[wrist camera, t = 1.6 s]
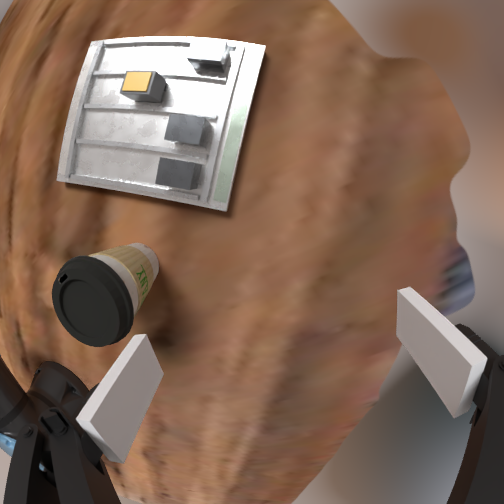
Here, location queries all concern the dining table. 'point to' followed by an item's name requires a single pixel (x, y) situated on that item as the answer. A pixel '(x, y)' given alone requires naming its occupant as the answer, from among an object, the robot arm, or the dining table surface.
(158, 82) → the toggle
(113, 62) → the panel
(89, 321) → the coffee cup
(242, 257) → the dining table surface
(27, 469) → the robot arm
